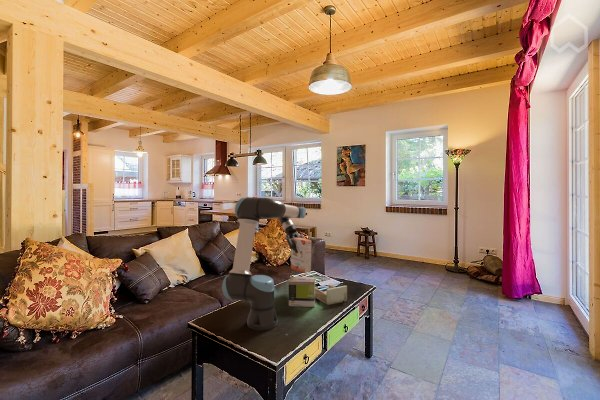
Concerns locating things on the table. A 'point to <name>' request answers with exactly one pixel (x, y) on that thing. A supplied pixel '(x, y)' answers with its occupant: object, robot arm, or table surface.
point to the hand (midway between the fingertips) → (304, 256)
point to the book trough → (332, 294)
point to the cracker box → (305, 260)
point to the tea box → (302, 291)
